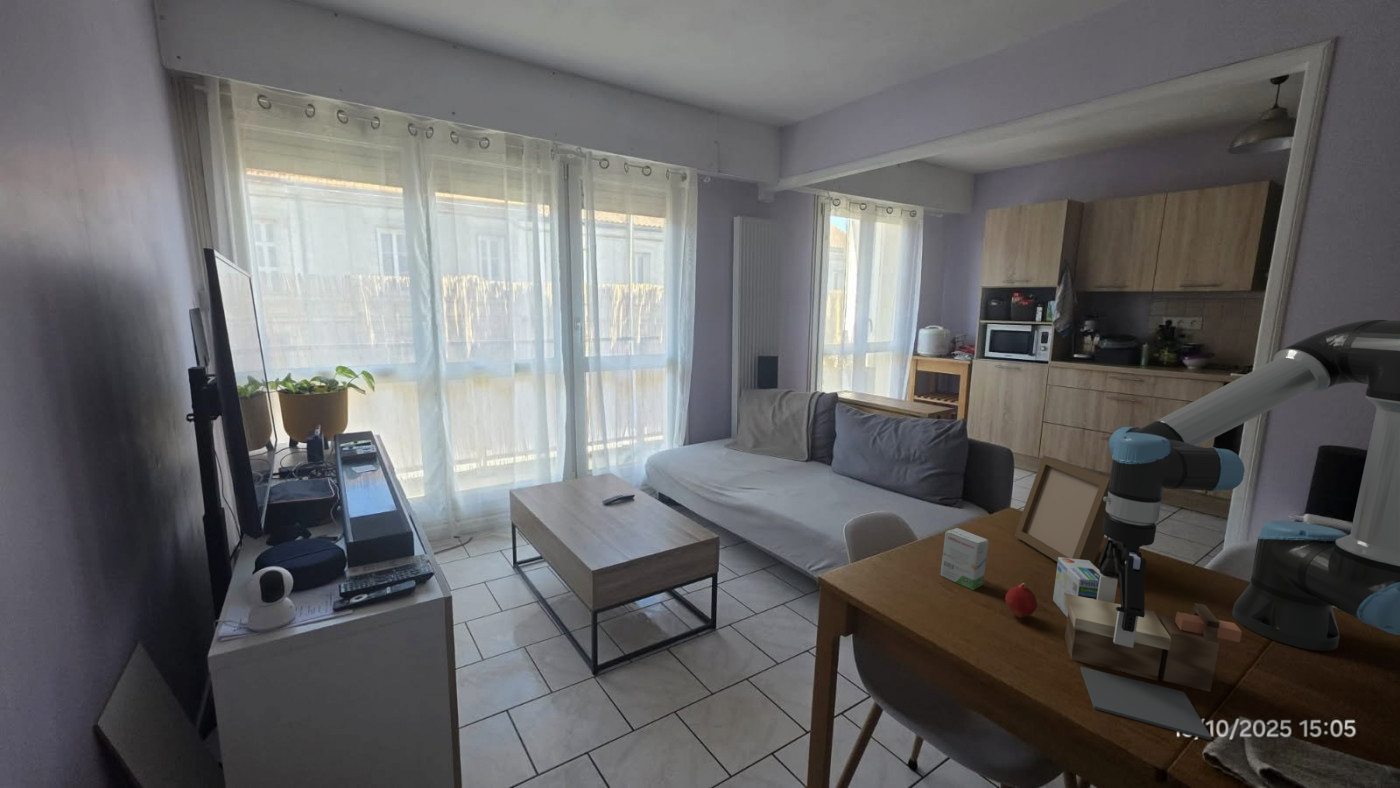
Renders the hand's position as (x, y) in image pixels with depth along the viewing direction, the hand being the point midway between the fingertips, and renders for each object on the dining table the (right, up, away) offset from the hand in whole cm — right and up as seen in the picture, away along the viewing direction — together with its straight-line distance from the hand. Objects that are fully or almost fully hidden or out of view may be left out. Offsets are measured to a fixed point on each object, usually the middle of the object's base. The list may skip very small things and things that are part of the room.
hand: (1113, 625), depth 101 cm
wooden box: (+3, -7, 0) cm, 8 cm away
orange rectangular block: (+12, +1, -6) cm, 14 cm away
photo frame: (+21, 0, +44) cm, 49 cm away
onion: (-9, -5, +15) cm, 18 cm away
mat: (-3, -9, -10) cm, 14 cm away
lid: (0, 0, 0) cm, 0 cm away
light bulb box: (+5, -5, +16) cm, 17 cm away
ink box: (-14, -2, +30) cm, 33 cm away
